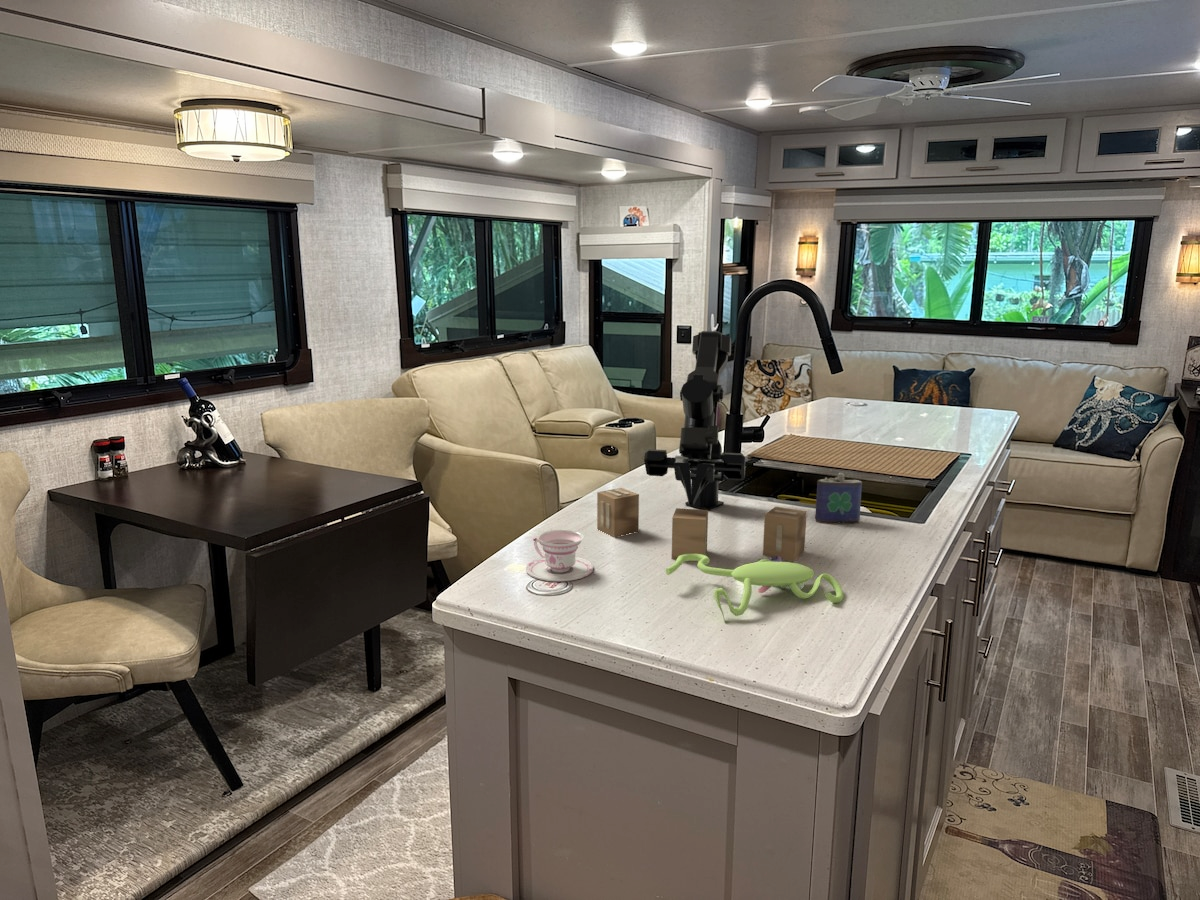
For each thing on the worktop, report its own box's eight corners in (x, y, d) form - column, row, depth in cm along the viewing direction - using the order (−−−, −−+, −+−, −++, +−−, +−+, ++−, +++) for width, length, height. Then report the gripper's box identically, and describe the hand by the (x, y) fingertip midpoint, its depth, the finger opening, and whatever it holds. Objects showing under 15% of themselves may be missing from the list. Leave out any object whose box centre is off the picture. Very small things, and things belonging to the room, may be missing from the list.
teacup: (601, 562, 149) (601, 529, 148) (581, 586, 138) (581, 551, 136) (539, 555, 152) (539, 524, 151) (515, 579, 141) (514, 544, 140)
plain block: (675, 548, 156) (676, 508, 154) (706, 550, 155) (708, 510, 153) (671, 559, 150) (672, 517, 148) (704, 561, 149) (705, 519, 147)
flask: (857, 520, 173) (861, 471, 171) (861, 524, 170) (865, 474, 168) (813, 519, 174) (816, 470, 171) (816, 523, 171) (819, 474, 168)
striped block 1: (621, 524, 170) (621, 486, 168) (638, 532, 165) (638, 493, 163) (596, 530, 167) (596, 491, 165) (613, 538, 162) (613, 498, 160)
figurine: (656, 584, 139) (657, 553, 138) (791, 565, 148) (793, 535, 147) (706, 628, 122) (707, 593, 121) (855, 603, 131) (858, 570, 130)
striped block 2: (773, 546, 157) (775, 505, 155) (804, 551, 154) (806, 510, 152) (762, 556, 152) (764, 513, 150) (794, 561, 149) (796, 518, 147)
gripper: (646, 407, 154) (636, 478, 145) (747, 411, 150) (742, 484, 142) (651, 440, 163) (642, 508, 155) (746, 444, 159) (742, 514, 151)
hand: (690, 503), depth 150 cm, fingers closed
